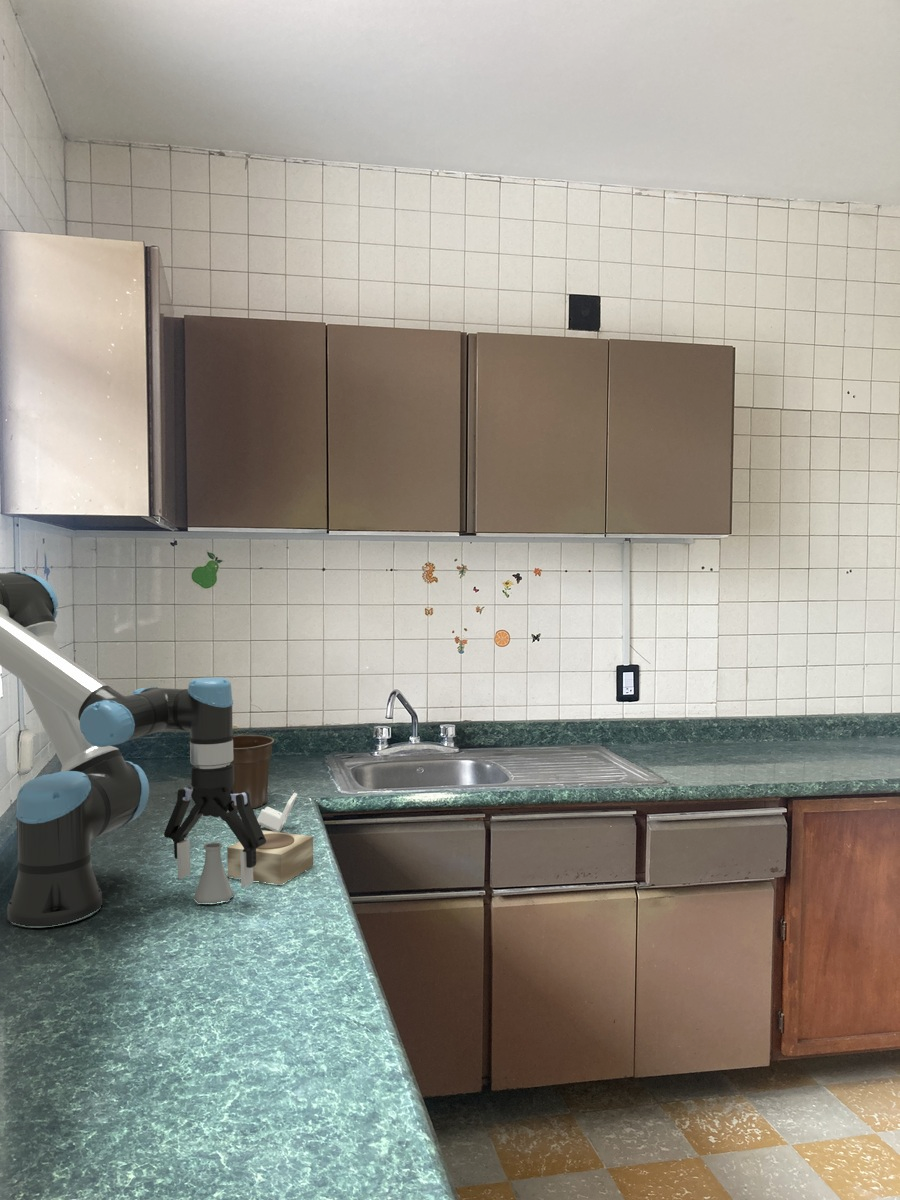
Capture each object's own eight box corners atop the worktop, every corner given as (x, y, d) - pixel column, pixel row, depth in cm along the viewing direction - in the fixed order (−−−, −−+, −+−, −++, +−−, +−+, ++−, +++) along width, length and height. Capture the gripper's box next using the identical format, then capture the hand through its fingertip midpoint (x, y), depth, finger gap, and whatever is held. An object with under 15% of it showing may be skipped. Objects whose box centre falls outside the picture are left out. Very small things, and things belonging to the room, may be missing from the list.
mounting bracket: (268, 852, 195) (288, 807, 194) (241, 840, 195) (261, 795, 194) (279, 835, 207) (298, 793, 206) (254, 824, 207) (273, 782, 206)
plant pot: (225, 817, 214) (225, 750, 214) (197, 803, 227) (197, 740, 226) (286, 805, 225) (285, 741, 224) (256, 792, 237) (255, 732, 237)
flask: (192, 908, 158) (191, 852, 157) (193, 894, 165) (192, 840, 164) (234, 904, 160) (234, 849, 159) (233, 890, 167) (233, 837, 166)
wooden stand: (227, 878, 173) (227, 845, 173) (262, 858, 184) (261, 828, 184) (281, 886, 169) (281, 853, 168) (313, 866, 180) (313, 835, 180)
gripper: (283, 764, 160) (286, 881, 161) (169, 755, 169) (172, 866, 170) (260, 773, 153) (262, 895, 154) (142, 763, 162) (145, 879, 163)
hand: (215, 880), depth 162 cm, fingers open, 13 cm apart
